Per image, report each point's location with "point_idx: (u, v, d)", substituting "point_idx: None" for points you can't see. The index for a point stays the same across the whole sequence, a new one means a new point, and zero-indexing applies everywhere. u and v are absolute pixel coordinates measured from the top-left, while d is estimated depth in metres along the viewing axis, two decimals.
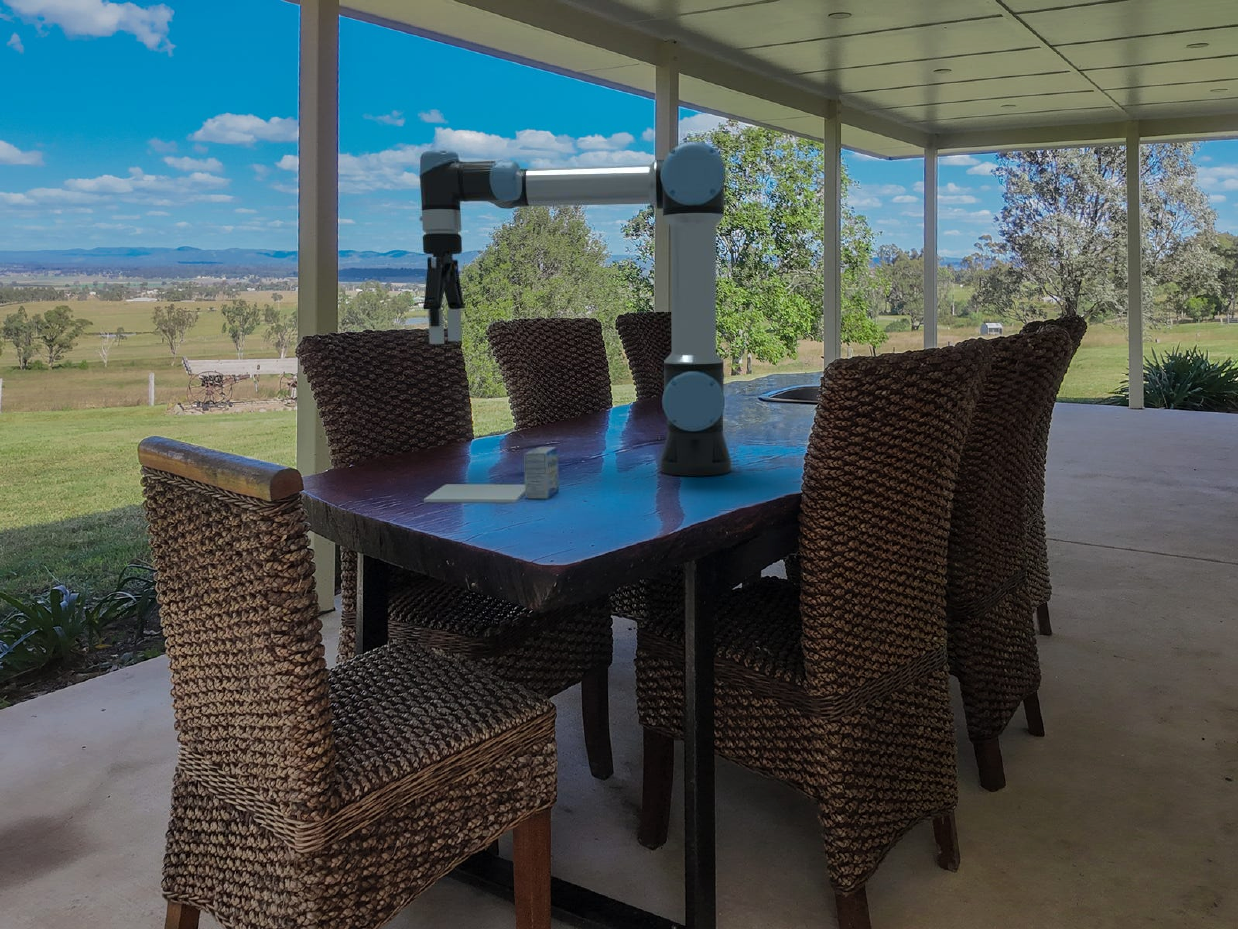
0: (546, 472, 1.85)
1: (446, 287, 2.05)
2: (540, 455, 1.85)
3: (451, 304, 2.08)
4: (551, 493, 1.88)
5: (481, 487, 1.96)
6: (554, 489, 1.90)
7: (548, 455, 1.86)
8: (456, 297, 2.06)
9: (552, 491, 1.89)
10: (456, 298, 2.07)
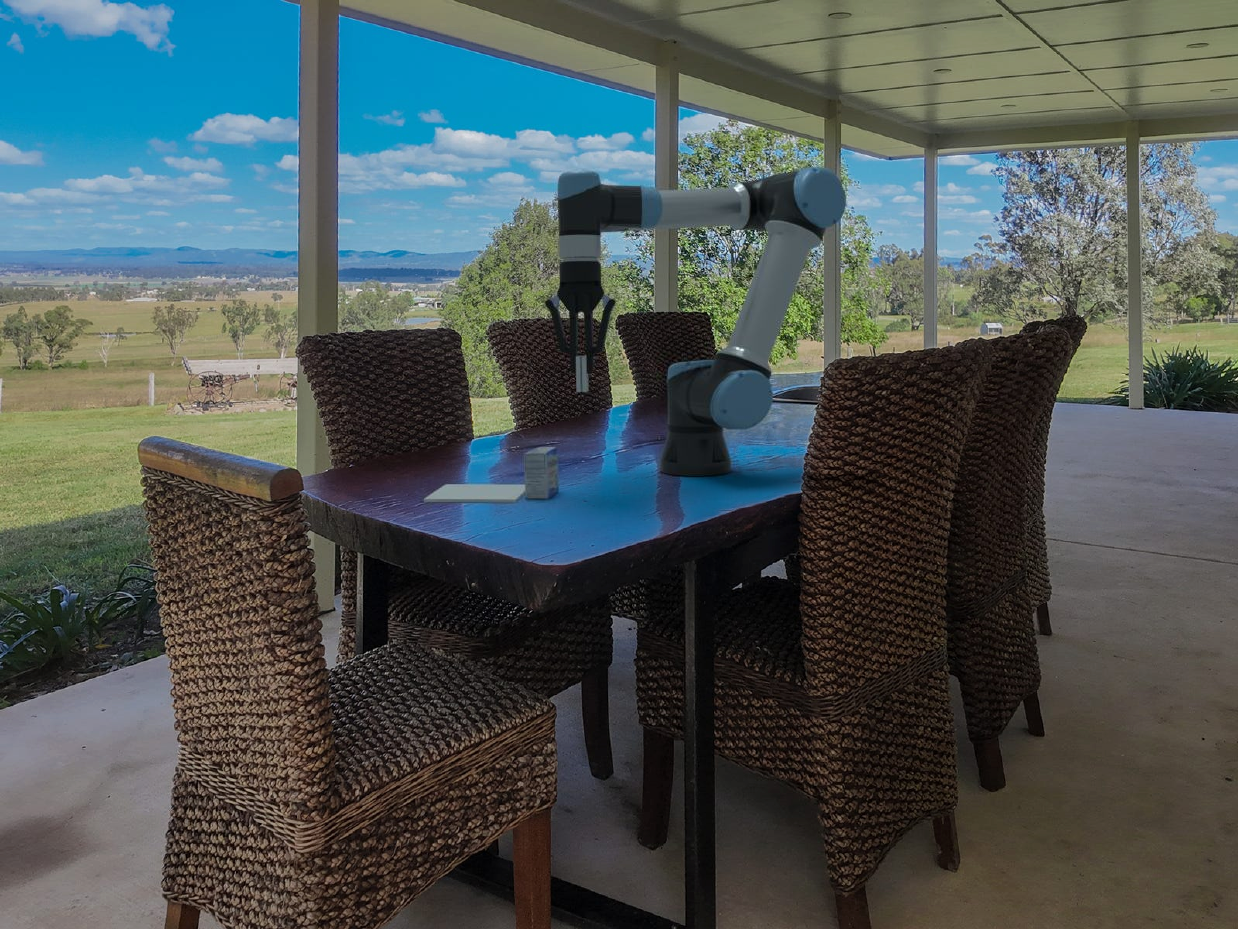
0: (546, 472, 1.85)
1: None
2: (540, 455, 1.85)
3: None
4: (551, 493, 1.88)
5: (481, 487, 1.96)
6: (554, 489, 1.90)
7: (548, 455, 1.86)
8: (585, 337, 1.84)
9: (552, 491, 1.89)
10: (585, 339, 1.84)
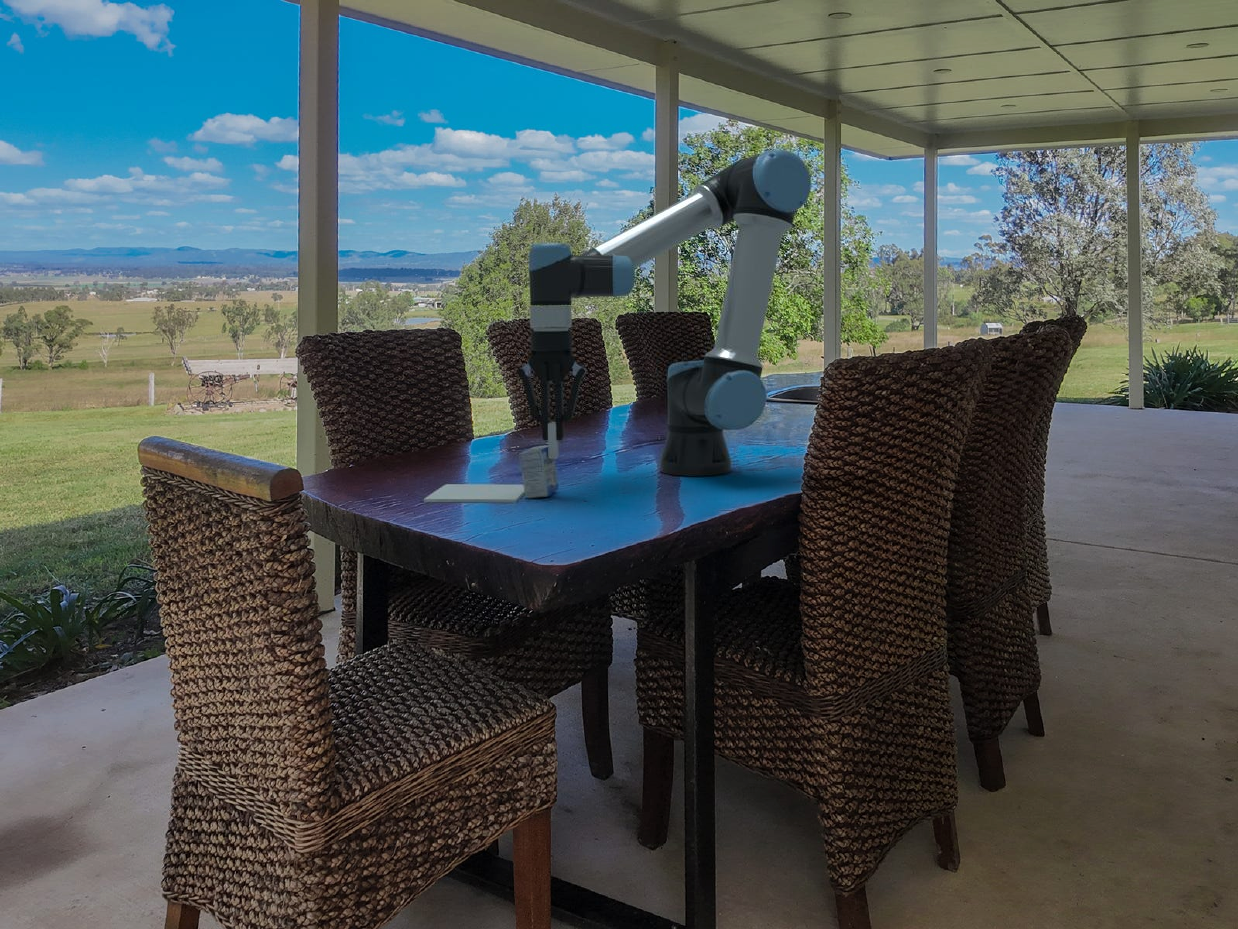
0: (543, 470, 1.86)
1: None
2: (535, 454, 1.85)
3: None
4: (550, 490, 1.88)
5: (481, 487, 1.96)
6: (553, 486, 1.90)
7: (543, 452, 1.86)
8: (555, 405, 1.86)
9: (551, 488, 1.89)
10: (555, 406, 1.86)
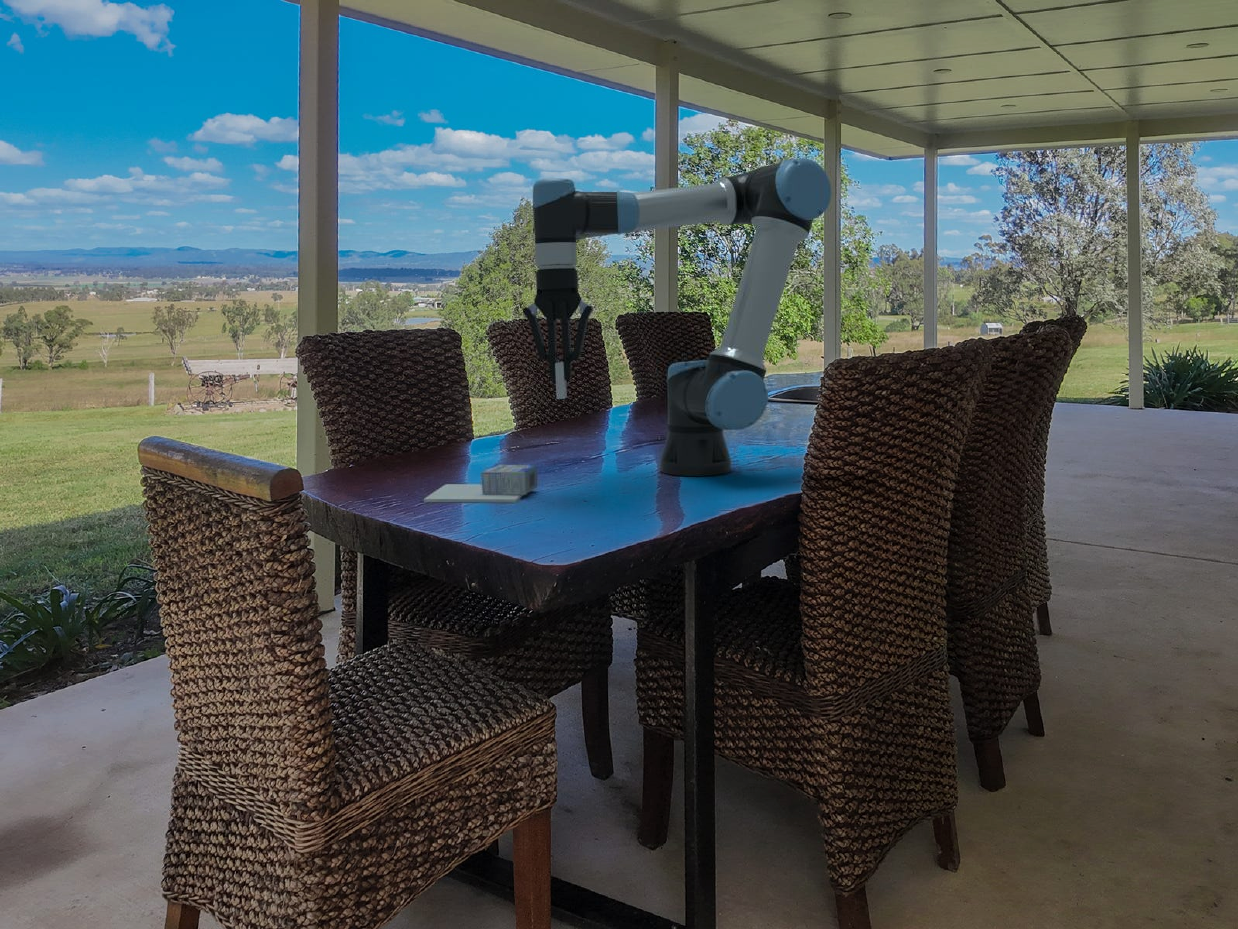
0: (500, 472, 1.87)
1: None
2: (483, 477, 1.88)
3: None
4: (525, 469, 1.89)
5: (481, 487, 1.96)
6: (527, 467, 1.91)
7: (486, 470, 1.89)
8: None
9: (525, 469, 1.89)
10: None
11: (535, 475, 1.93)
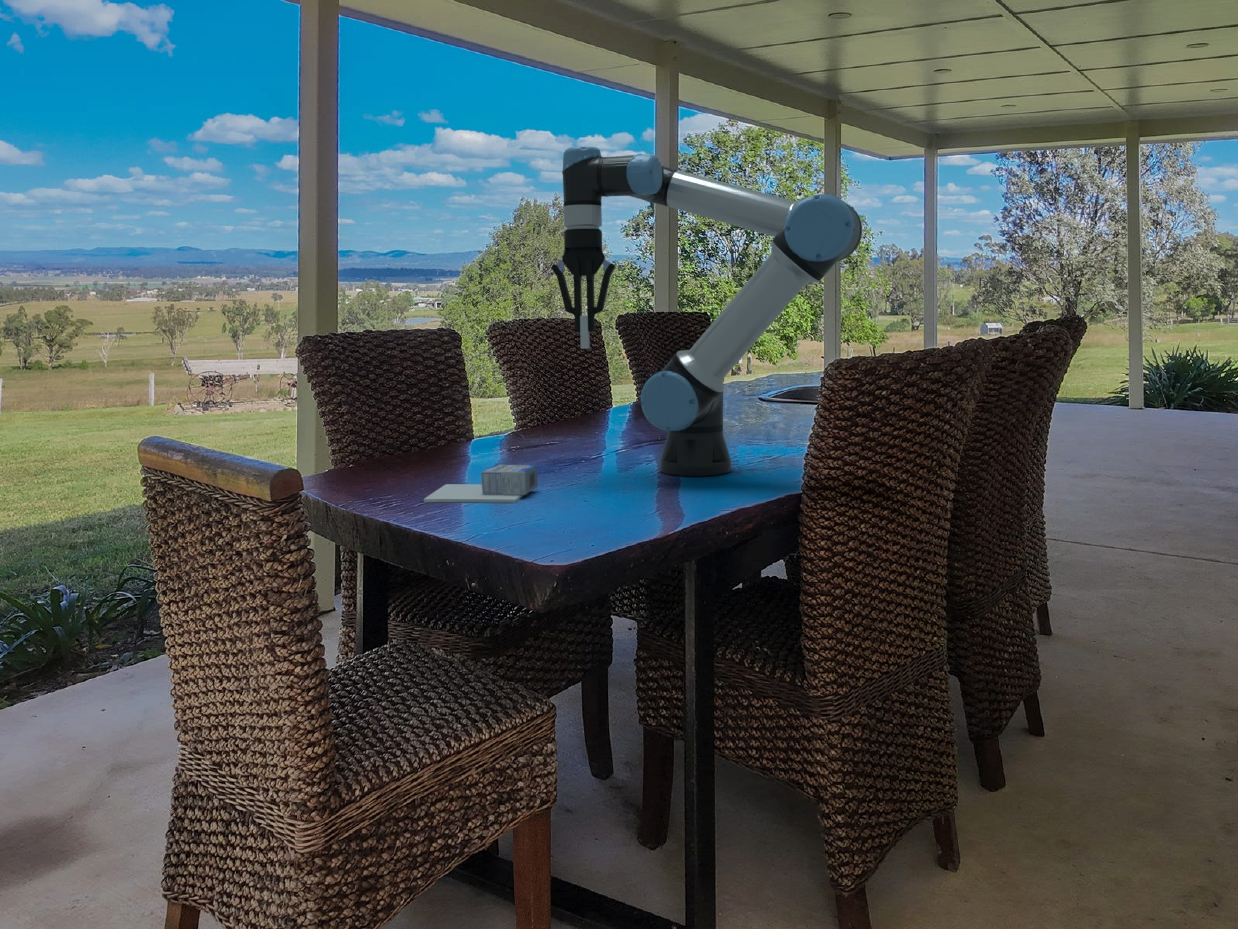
0: (500, 472, 1.87)
1: None
2: (483, 477, 1.88)
3: None
4: (525, 469, 1.89)
5: (481, 487, 1.96)
6: (527, 467, 1.91)
7: (486, 470, 1.89)
8: (587, 298, 2.03)
9: (525, 469, 1.89)
10: (587, 300, 2.03)
11: (535, 475, 1.93)
